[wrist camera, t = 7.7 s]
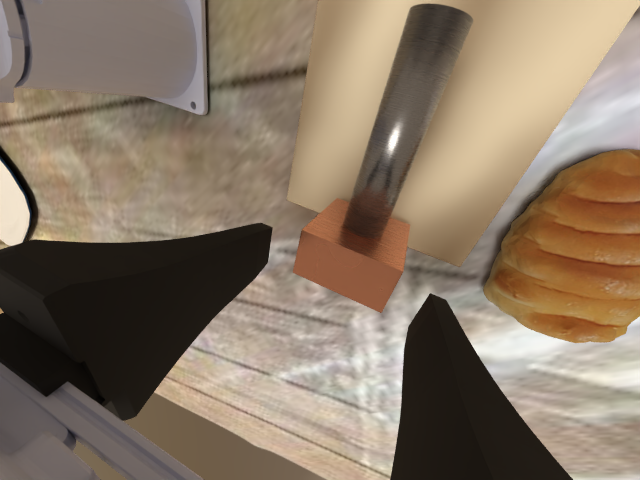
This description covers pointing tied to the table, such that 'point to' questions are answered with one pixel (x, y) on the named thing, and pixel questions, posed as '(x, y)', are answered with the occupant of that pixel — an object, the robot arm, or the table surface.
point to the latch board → (447, 106)
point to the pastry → (576, 253)
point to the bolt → (385, 166)
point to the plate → (13, 208)
